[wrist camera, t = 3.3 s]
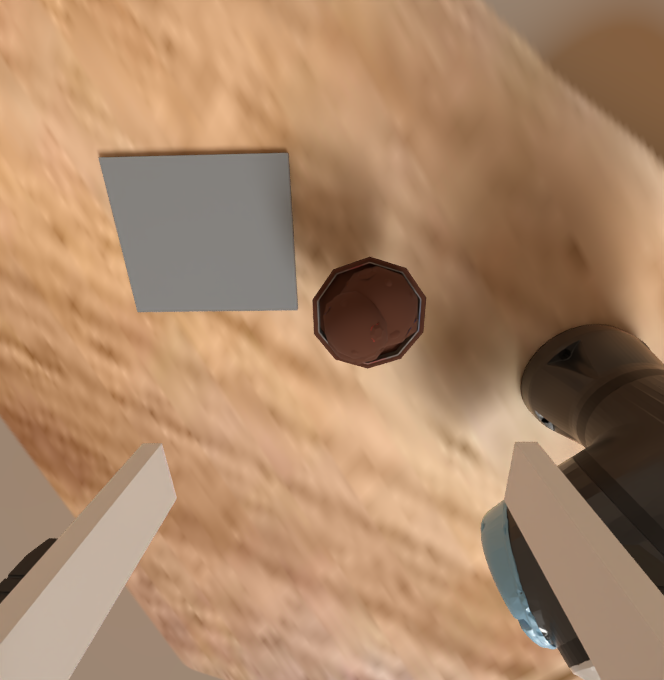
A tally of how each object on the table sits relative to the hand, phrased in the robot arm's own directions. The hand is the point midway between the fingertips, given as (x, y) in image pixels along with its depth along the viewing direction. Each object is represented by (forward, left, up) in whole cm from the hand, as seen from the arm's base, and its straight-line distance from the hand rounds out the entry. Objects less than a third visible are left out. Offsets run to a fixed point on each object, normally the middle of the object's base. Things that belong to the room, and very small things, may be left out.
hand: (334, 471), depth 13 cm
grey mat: (+15, -6, -30) cm, 34 cm away
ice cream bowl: (-3, +1, -30) cm, 30 cm away
